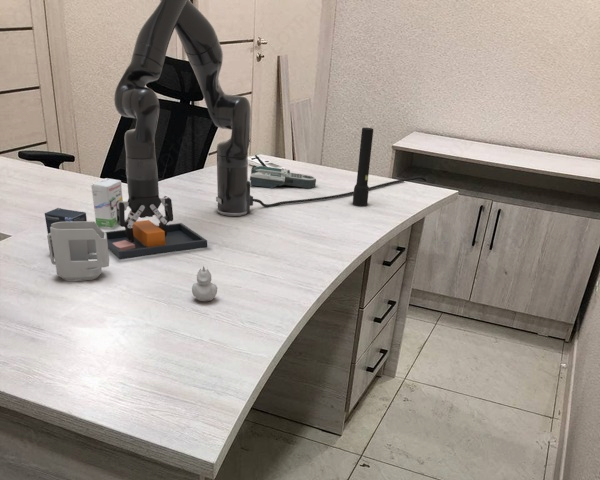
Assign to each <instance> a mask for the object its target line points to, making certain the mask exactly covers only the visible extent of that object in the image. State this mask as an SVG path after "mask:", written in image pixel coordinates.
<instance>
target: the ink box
mask: <svg viewBox="0 0 600 480" xmlns="http://www.w3.org/2000/svg"><path fill="white" fill-rule="evenodd" d="M122 186H123V185H122V180H120V179H114V178H108V177H105V178H102V179H100V180H97V181H95V182H93V183H92V184H91V185H90V187H91V194H92V202H93V212H94V218H95V223H96V224H97V225H98V227H105V228H113V227H114V226H116V225H119V224H118V223H117V209H116V202H117V201H118V200H119V201H121V202H124V199H123V198H124V197H123V187H122Z"/></svg>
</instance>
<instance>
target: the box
mask: <svg viewBox="0 0 600 480" xmlns="http://www.w3.org/2000/svg"><path fill="white" fill-rule="evenodd" d="M44 218H45V225H46V231H47V235H48V234H49V233H50V232H51V231H50V227H51V224H53V223H56V222H83V221H88V220H87V212H86V211H80V210H79V211H78V210H72V209H66V208H61V207H56V208H54V209H51V210H49V211H47V212H45V213H44ZM50 240H51V246H52V252H53V245H52V239H51V236H50ZM53 257H54V252H53Z"/></svg>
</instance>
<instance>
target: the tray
mask: <svg viewBox="0 0 600 480" xmlns="http://www.w3.org/2000/svg"><path fill="white" fill-rule="evenodd" d="M157 226H158V227H159V225H157ZM166 226H167V235H166V236H165V245H161V246H154V247H146V248H143V247H142V246H141V245H139V244H138V243H137V242H136V241H134V242H132V243H133V244H135V248H134V249H129V250H124V251H121V250H120V249H118V248H117V247H116V246H115V245H114V244H113V243H114V242H119V241H123V240H126V241H128V242H130V241H129V240H128V239H127V238H126V232H125V229H119V230H110V231H109V230H108V231H105V232H106V234H107V243H108V251H110V252H111V253H112V254H113V255H114V256H115V257H116V258H118V260H125V259H133V258H140V257H141V258H142V257H148V256H154V255H161V254H169V253H177V252H182V251H183V252H184V251H188V250H189V251H190V250H196V249H205V248H208V240H207V239H206V238H204V237H203V236H202V235H200V234H199V233H197V232H195V231H194V230H192V229H191V228H189V226H186V225H185V224H183V223H182V222H177V223H170V224H169V223H168V224H166ZM98 235H99V234H98ZM130 243H131V242H130Z"/></svg>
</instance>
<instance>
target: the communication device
mask: <svg viewBox="0 0 600 480" xmlns="http://www.w3.org/2000/svg"><path fill="white" fill-rule="evenodd" d="M254 157H255V159H257V161H258V162H259V164H261V165H258V166H257V165H255V164H253V165H252V167H251V170H250V175H249V181H250V186H256V187H262V188H270V189H274V188H276V187H277V186H279V187H280V186H289V187H290V186H291V187H296V188H303V189H312V188H314V187H315V186H316V185H317V184H316V183H317V178H315V177H314V176H312V175H309V174H304V173H296V172H291V170H290V169H287V168H278V167H273V166H267V165H266V163H264V162H263V160H261V158H260V157H259V156H258V155H257V154H255V155H254Z"/></svg>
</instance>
